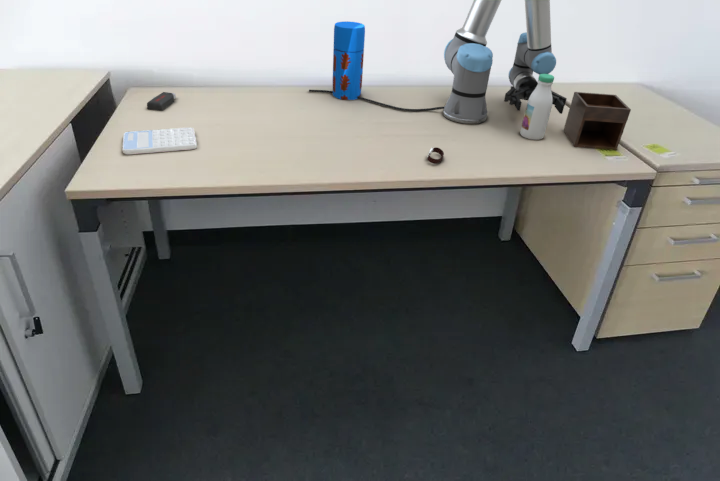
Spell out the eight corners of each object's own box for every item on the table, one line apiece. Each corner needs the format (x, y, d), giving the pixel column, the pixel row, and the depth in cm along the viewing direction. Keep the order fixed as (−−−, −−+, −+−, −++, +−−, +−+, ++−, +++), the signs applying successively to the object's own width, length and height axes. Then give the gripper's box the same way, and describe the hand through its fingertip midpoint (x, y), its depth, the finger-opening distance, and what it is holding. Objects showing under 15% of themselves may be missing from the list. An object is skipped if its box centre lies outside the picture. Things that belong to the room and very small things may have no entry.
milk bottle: (545, 134, 178) (561, 74, 167) (541, 142, 172) (558, 80, 161) (522, 129, 180) (536, 70, 169) (517, 137, 174) (532, 76, 163)
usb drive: (147, 109, 176) (146, 101, 175) (164, 97, 186) (163, 89, 185) (162, 111, 176) (160, 103, 174) (178, 99, 186) (177, 91, 184)
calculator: (197, 149, 153) (196, 143, 152) (122, 155, 147) (121, 149, 146) (194, 131, 164) (193, 125, 162) (124, 136, 158) (123, 130, 157)
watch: (430, 153, 160) (432, 142, 158) (445, 156, 159) (447, 145, 157) (423, 163, 154) (424, 151, 152) (439, 166, 153) (440, 155, 151)
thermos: (357, 101, 194) (361, 29, 180) (329, 98, 195) (331, 26, 181) (363, 92, 203) (367, 23, 188) (336, 88, 204) (338, 20, 190)
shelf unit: (574, 146, 170) (586, 106, 163) (563, 130, 182) (574, 91, 174) (616, 150, 170) (631, 109, 162) (603, 133, 181) (616, 94, 174)
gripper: (559, 99, 189) (576, 121, 172) (489, 94, 189) (499, 116, 172) (564, 78, 185) (583, 99, 167) (493, 73, 185) (504, 93, 168)
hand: (540, 108), depth 170 cm, fingers open, 13 cm apart
